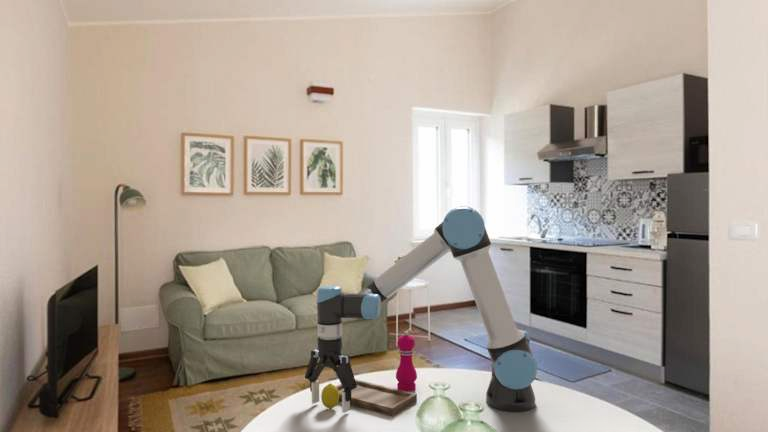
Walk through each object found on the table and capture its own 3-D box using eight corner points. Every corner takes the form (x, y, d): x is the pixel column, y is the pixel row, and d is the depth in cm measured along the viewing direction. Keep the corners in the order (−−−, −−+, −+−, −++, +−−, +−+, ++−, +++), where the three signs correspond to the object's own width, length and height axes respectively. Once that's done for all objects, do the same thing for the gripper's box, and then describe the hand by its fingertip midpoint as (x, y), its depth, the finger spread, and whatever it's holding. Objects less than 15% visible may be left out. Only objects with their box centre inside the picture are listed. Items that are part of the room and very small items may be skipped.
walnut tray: (416, 401, 163) (416, 394, 163) (392, 416, 152) (392, 408, 151) (353, 385, 178) (352, 378, 178) (326, 398, 166) (326, 390, 166)
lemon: (325, 414, 154) (325, 388, 154) (318, 407, 159) (318, 382, 159) (342, 410, 156) (342, 384, 156) (335, 404, 161) (335, 379, 161)
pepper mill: (417, 392, 171) (417, 333, 171) (395, 392, 171) (395, 333, 171) (416, 385, 178) (416, 328, 178) (395, 385, 178) (395, 328, 178)
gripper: (293, 333, 161) (293, 402, 161) (352, 345, 147) (353, 419, 148) (309, 329, 167) (310, 394, 167) (368, 339, 153) (368, 411, 154)
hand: (330, 406), depth 158 cm, fingers open, 12 cm apart
